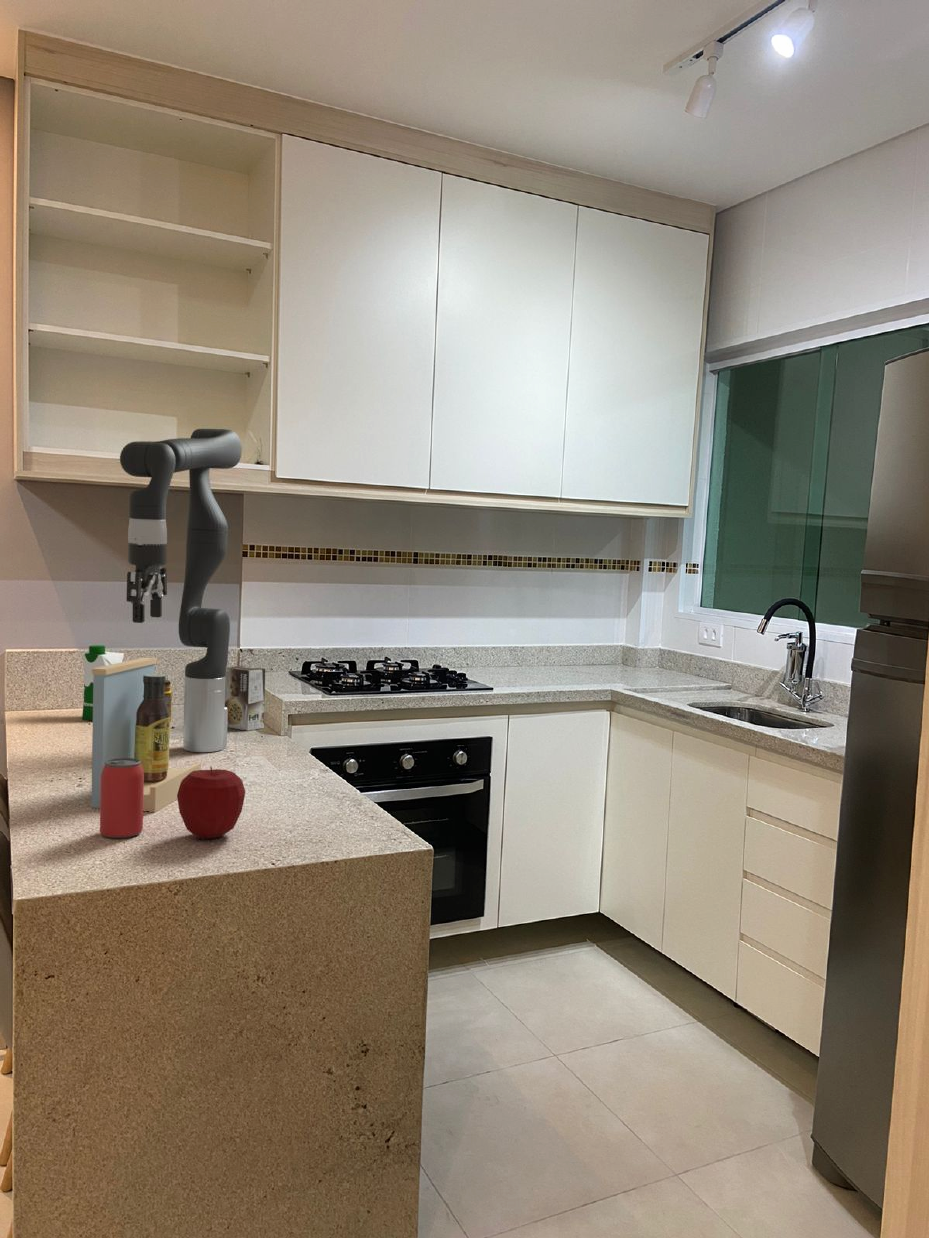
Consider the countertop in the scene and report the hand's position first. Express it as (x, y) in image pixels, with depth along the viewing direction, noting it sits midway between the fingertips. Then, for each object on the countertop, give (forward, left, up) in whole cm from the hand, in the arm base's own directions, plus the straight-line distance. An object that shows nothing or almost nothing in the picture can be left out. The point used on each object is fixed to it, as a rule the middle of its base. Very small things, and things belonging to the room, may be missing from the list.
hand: (147, 619), depth 190 cm
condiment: (-36, -39, -32) cm, 62 cm away
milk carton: (-32, -57, -32) cm, 73 cm away
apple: (+22, +43, -32) cm, 58 cm away
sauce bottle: (+11, +15, -29) cm, 35 cm away
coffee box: (-50, -22, -32) cm, 63 cm away
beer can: (+30, +31, -32) cm, 54 cm away
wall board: (+12, +16, -32) cm, 37 cm away
